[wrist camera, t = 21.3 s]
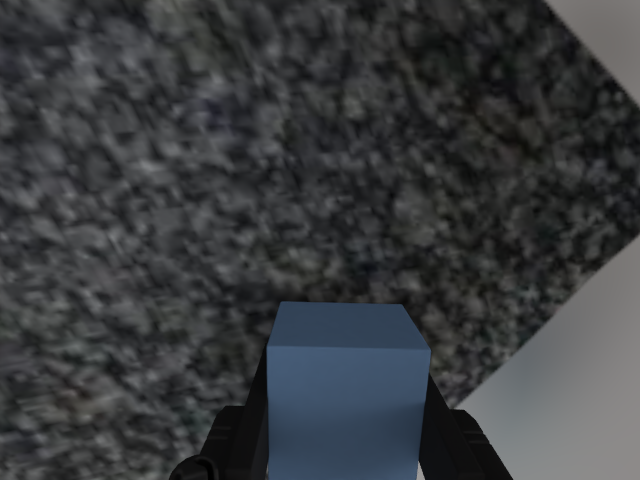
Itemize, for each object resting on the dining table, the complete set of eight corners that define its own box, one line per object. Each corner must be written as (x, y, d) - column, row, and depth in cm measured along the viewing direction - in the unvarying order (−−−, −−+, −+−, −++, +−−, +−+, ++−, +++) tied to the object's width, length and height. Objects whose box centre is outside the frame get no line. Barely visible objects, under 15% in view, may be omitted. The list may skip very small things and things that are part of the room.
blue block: (402, 303, 15) (432, 350, 11) (391, 423, 16) (414, 503, 12) (280, 300, 15) (266, 346, 11) (281, 421, 16) (268, 500, 12)
